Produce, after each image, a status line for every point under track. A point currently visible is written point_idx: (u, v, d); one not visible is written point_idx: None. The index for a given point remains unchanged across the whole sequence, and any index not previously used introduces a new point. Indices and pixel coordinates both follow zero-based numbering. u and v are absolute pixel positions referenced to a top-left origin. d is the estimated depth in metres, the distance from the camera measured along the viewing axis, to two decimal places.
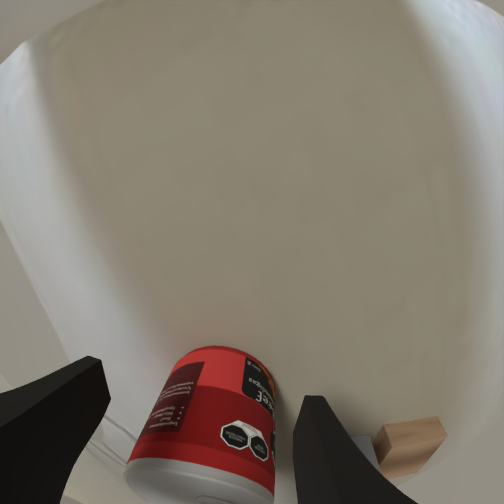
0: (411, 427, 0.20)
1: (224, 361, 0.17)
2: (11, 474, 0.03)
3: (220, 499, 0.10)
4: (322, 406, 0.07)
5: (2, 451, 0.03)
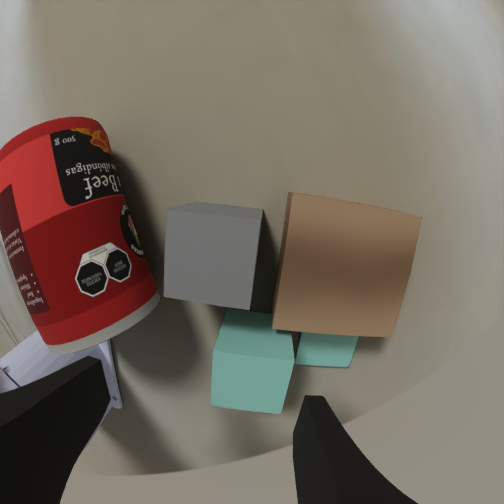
0: None
1: (29, 167, 0.09)
2: (11, 474, 0.03)
3: None
4: (322, 406, 0.07)
5: (3, 452, 0.03)
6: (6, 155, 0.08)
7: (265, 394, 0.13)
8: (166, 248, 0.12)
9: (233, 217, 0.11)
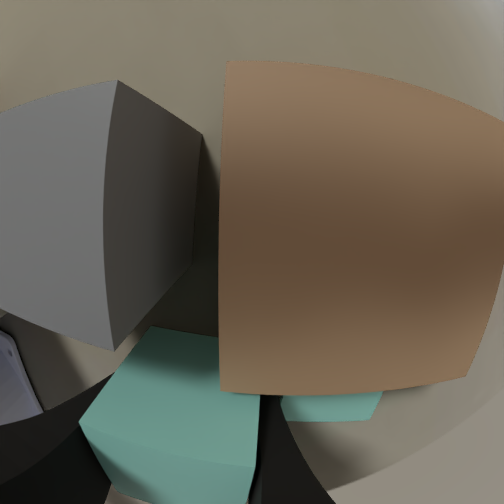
0: None
1: None
2: None
3: None
4: (271, 404, 0.07)
5: (44, 482, 0.03)
6: None
7: (204, 500, 0.05)
8: None
9: (62, 94, 0.03)
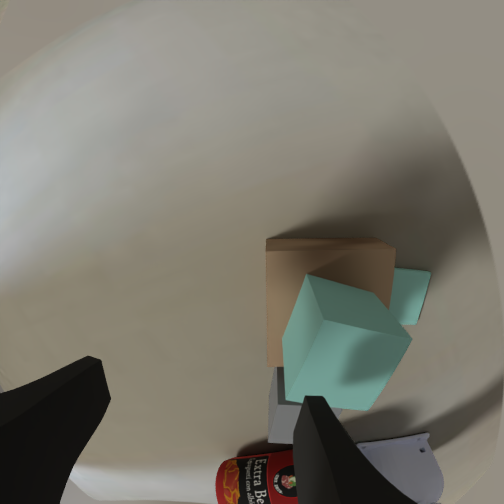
0: None
1: None
2: (11, 474, 0.03)
3: None
4: (322, 406, 0.07)
5: (3, 452, 0.03)
6: None
7: (364, 384, 0.10)
8: None
9: (275, 415, 0.14)
